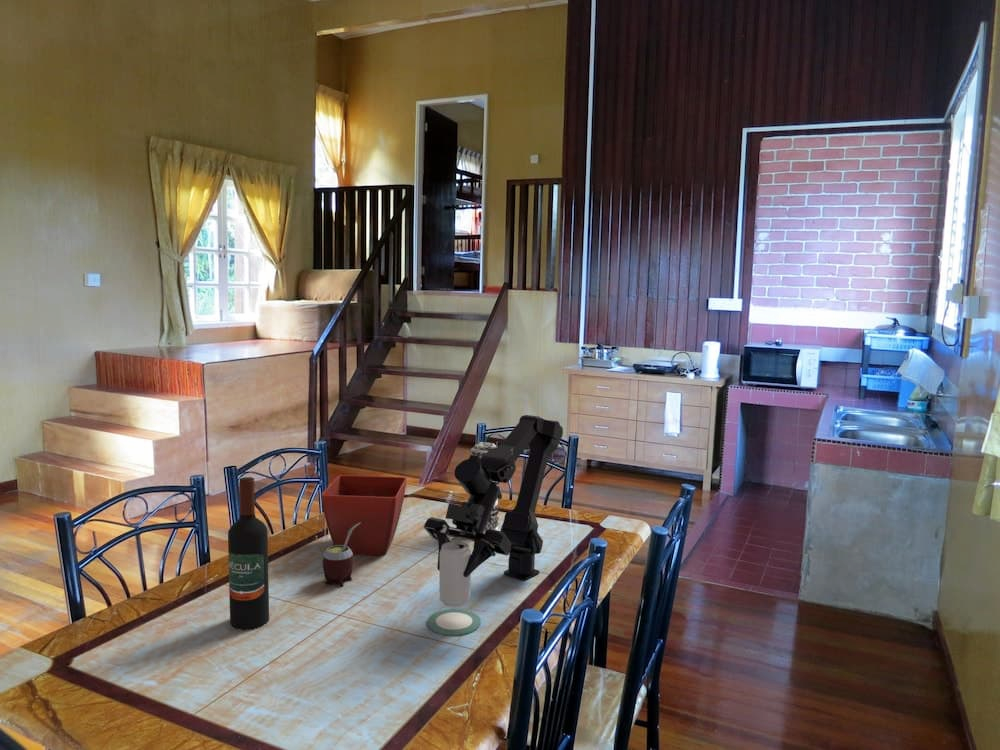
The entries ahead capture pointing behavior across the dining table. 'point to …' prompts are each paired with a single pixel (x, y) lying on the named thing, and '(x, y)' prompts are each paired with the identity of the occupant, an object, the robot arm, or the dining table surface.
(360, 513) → the plant pot
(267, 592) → the wine bottle
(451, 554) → the beverage can
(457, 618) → the coaster
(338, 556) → the mate gourd
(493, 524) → the decorative candle
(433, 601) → the dining table surface
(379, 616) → the dining table surface
